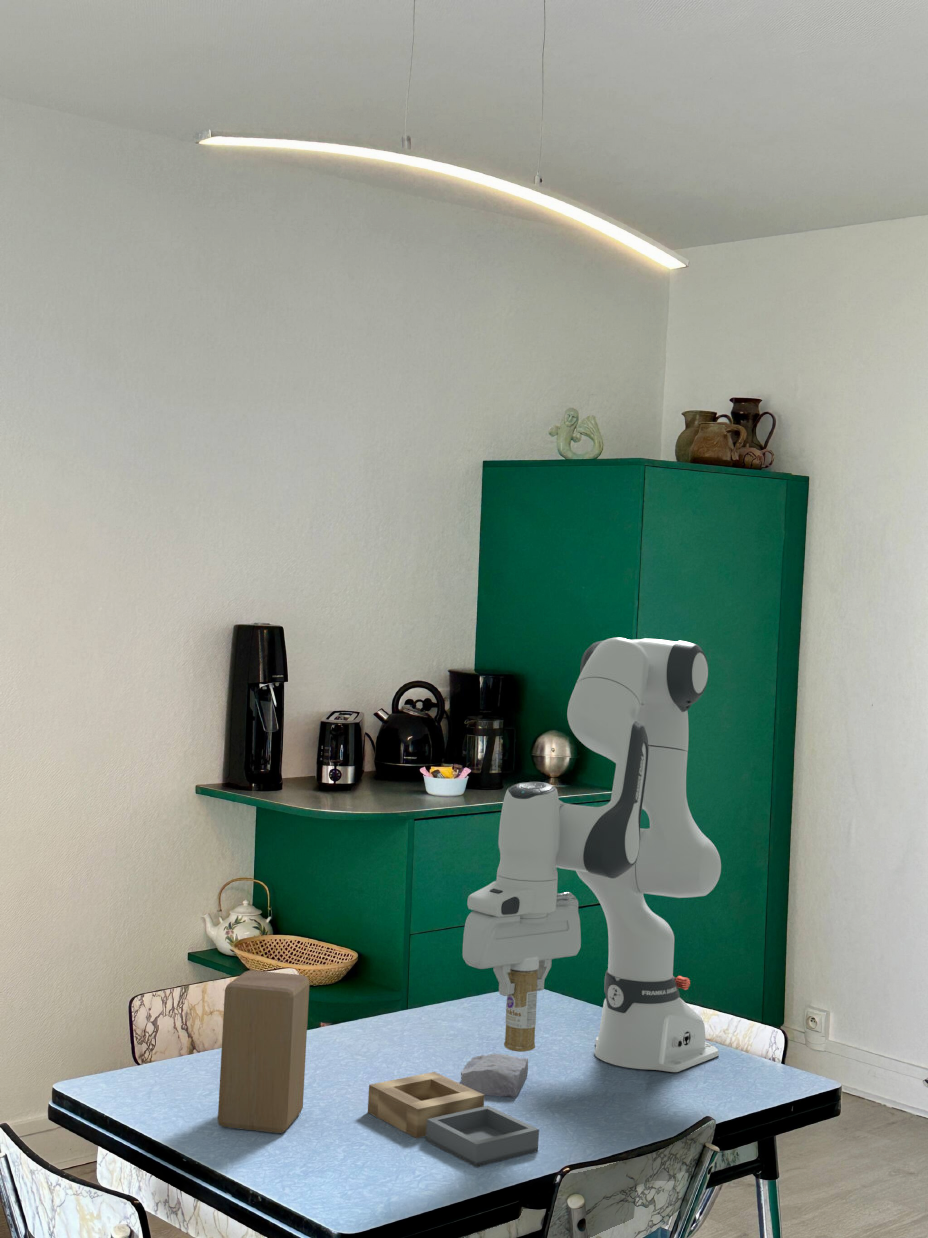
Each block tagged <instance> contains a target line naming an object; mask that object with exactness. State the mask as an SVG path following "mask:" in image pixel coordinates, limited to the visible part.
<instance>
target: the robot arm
mask: <svg viewBox="0 0 928 1238" xmlns="http://www.w3.org/2000/svg"><path fill="white" fill-rule="evenodd" d="M580 660H581V661H580V668H579V669H580V671H579V672H580V673H579V676H578V678H577V680H576V682H575V686H574V687H573V688H574V689H573V690H572V693H571V695H570V698H569V701H568V705H567V713H566V716H567V721H568V725H569V728H570V730H571V732H572V733H573V734H574V736H575V737H576V738H577V740H578V741H579V742H581V744H583V745H584V746H585V747H586V748H588V749H589V750H591V751H592V752H594V753H596V754H599V755H601V756H603V757H605V758H607V759H608V760H610V761H612V762H613V763H615V771H614V776H613V782H612V783H613V784H612V790H611V791H612V792H611V798H610V800H609V802H608V803H607V804H605V805H602V806H587V805H581V804H572V803H567V802H563V801H562V800H560V799H559V794H558V793H559V792H558V788H556V787H555V785H552V784H550V783H547V782H541V781H529V782H519V783H516V784H513V785H512V786H510V787H508V788H507V790H506V792H505V794H504V797H503V798H504V799H503V802H502V807H501V813H500V819H499V827H498V828H499V829H498V849H499V853H500V855H499V858H500V861H499V864H498V867H497V870H496V871H497V872H496V879H495V880H494V881H492V882H491V883H489V884H488V885H486V886H484V887H482V888H480V889H478V890H476V891H474V892H472V893H471V894H469V895H468V897H467V902H466V903H467V908H468V910H471V912H470V913H469V914H468V915H467V917H466V920H465V924H464V928H463V929H464V930H463V937H462V938H463V939H462V958H463V961H465V964H466V965H467V966H469V967H472V968H475V969H479V970H484V969H490V968H493V970H492V971H493V972H494V975H495V977H496V980H497V981H498V993H499V995H500V996H503V997H507V996H510V995H514V992H515V991H514V988H515V983H513V982H510V980H509V977H508V972H510V967H511V965H513V964H520V963H523V961H524V959H526V958H530V957H539V968H538V969H537V970H538V972H537V992H541V991H543V990H544V989H545V979H546V978H547V976H548V973H549V971H550V969H551V968H552V960H554V959H561V958H568V957H574V956H577V955H578V953H579V952H580V949H581V947H582V946H581V945H582V937H581V932H582V931H581V919H580V914H579V913H580V912H579V900H578V899H577V897H576V896H575V895H574V894H573V893H571V892H569V891H566V892H564V891H563V892H562V893H559V892H558V880H559V878H558V877H559V876H558V873H559V872H558V870H557V869H561V870H570V871H575V872H576V874H577V876H578V877H579V879H580V880H581V881H582V882H583V883H584V884H585V885H586V886H588V888H589V889H590V891H592V893H593V894H594V895H595V897H596V899H597V900H598V902H599V904H600V906H601V908H602V911H603V913H604V917H605V920H606V926H607V934H608V938H607V939H608V962H607V963H608V964H607V967H608V968H607V970H606V971H605V976H604V987H603V988H604V990H603V991H604V993H605V994H604V995H605V998H604V1000H603V1005H602V1011H601V1016H600V1017H601V1018H600V1024H599V1031H598V1036H597V1037H596V1038H595V1043H594V1045H595V1048H594V1051H593V1053H594V1055H595V1057H597V1058H598V1059H600V1060H601V1061H604V1062H605V1063H608V1064H611V1065H613V1066H614V1065H615V1066H619V1067H623V1068H630V1069H638V1070H652V1071H654V1070H655V1071H663V1072H670V1073H678V1072H681V1071H684V1070H686V1069H689V1068H691V1067H693V1066H696V1065H698V1064H701V1063H704V1062H706V1061H709V1060H711V1059H714V1058H716V1057H718V1056H719V1055H720V1053H719V1052H720V1051H719V1049H718V1048H717V1047H716V1046H715V1045H713V1044H711V1043H709V1042H706V1028H705V1022H704V1020H703V1018H702V1017H701V1015H699V1013H697V1012H696V1011H695V1010H694V1009H693V1008H692V1007H690V1006H689V1005H688V1003H686V1002H685V1001H684V1000H683V999H682V998H681V997H680V991H679V989H681V990H685V991H687V990H688V989H689V987H690V986H691V980H690V978H688V977H684V976H682V975H678V976H677V977H675V976H674V975H673V974H674V960H675V959H674V957H675V956H674V955H675V934H674V931H673V930H672V928H671V926H670V924H669V923H668V922H667V921H666V920H665V919H664V918H662V917H661V916H659V915H658V914H656V913H655V912H653V911H652V910H651V908H650V907H649V906H648V904H647V903H646V899H645V897H644V894H646V895H647V894H648V895H654V896H662V897H669V898H675V899H676V898H677V899H682V898H697V897H705V896H707V895H708V894H710V893H711V892H712V891H713V890H714V889H715V887H716V885H717V884H718V882H719V880H720V876H721V872H722V863H721V862H722V860H721V856H720V853H719V851H718V849H717V847H716V846H715V844H714V843H713V842H712V840H710V838H709V837H707V836H706V835H705V834H704V833H703V832H702V831H701V829H700V828H699V826H698V825H697V823H696V822H695V820H694V818H693V816H692V813H691V811H690V807H689V804H688V798H687V769H688V768H687V767H688V752H689V736H690V735H689V734H690V733H689V729H690V728H689V714H688V713H689V712H688V710H689V709H690V708H691V706H692V705H693V704H695V703H696V702H697V701H698V700H699V699H700V698H701V696H702V695H703V694H704V692H705V690H706V687H707V684H708V680H709V679H708V677H709V665H708V664H709V663H708V659H707V656H706V653H705V652H704V651H703V650H702V648H701V647H700V645H698V644H696V643H692V642H689V641H685V640H678V641H674V640H667V639H658V638H647V637H646V638H645V637H644V638H641V639H638V638H636V639H627V638H625V637H612V638H607V639H605V640H600V641H596V642H593V643H592V644H591V645H590V646H589V647H588V648H587V649H586V650H585V651H584V653H583V654H582V657H581V659H580ZM642 811H645V813H646V814H647V817H648V819H649V828H641V820H642V819H641V818H642Z"/></svg>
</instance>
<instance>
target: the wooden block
mask: <svg viewBox="0 0 928 1238" xmlns="http://www.w3.org/2000/svg"><path fill="white" fill-rule="evenodd" d="M224 988H225V989H224V997H223V998H224V1000H223V1018H222V1036H221V1053H220V1055H221V1056H220V1068H219V1069H220V1072H219V1087H218V1088H219V1089H218V1090H219V1092H218V1105H217V1106H218V1109H217V1110H218V1111H217V1122H218V1125H219V1127H220V1126H221V1127H223V1128H228V1127H229V1129H237V1128H238V1129H239V1130H246V1129H247V1131H255V1130H256V1132H264V1131H265V1132H266V1133H276V1134H282V1133H284V1132H286V1130H287V1129H288V1128H289V1127H290V1126H291V1125H292V1123H293V1122H294V1121H295V1120H296V1118H298V1116H299V1115H300V1114H301V1112H302V1111H303V1108H304V1107H303V1106H304V1091H305V1074H306V1073H305V1071H306V1053H307V1038H308V1037H307V1034H308V1018H309V1017H308V1015H309V999H310V997H309V996H310V995H309V994H310V980H309V977H308V976H306V975H304V974H295V973H287V972H286V973H285V972H284V973H283V972H276V971H275V972H273V971H263V970H262V971H261V970H252V969H250V970H247V971H244V972H243V973H242V974H241V975H239V976H237V977H236V978H235V979H233V980H231V982H229V983H227V984H226V986H225V987H224ZM265 1132H264V1133H265Z"/></svg>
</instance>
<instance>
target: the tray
mask: <svg viewBox="0 0 928 1238" xmlns="http://www.w3.org/2000/svg"><path fill="white" fill-rule="evenodd" d="M539 1136H540V1128H538V1127H535V1126H533V1125H530V1124H529V1123H526V1122H525V1121H522V1120H521V1119H518V1118H516V1117H515V1116H511V1115H509V1114H507V1113H505V1112H503V1111H501V1110H499V1109H496V1108H494V1107H493V1106H491V1105H484V1106H483V1107H479V1108H475V1109H470V1110H466V1111H461V1112H457V1113H452V1114H448V1115H443V1116H439V1117H434V1118H430V1119H427V1129H426V1136H425V1141H426V1142H428V1143H429V1144H431V1145H433V1146H434V1147H437V1148H439V1149H441V1150H442V1151H444V1152H446V1153H448V1154H450V1155H452V1156H453V1157H456V1158H458V1159H460V1160H461V1161H462V1162H465V1163H467V1164H468V1165H470V1166H473V1167H475V1168H479V1167H482V1166H486V1165H490V1164H494V1163H498V1162H503V1161H506V1160H511V1159H513V1158H517V1157H521V1156H525V1155H529V1154H532V1153H533V1154H534V1153H536V1152H539V1141H540V1140H539Z"/></svg>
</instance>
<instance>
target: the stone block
mask: <svg viewBox="0 0 928 1238" xmlns="http://www.w3.org/2000/svg"><path fill="white" fill-rule="evenodd" d="M528 1071H529V1059H528V1058H527V1057H524V1058H522V1057H517V1056H514V1055H509V1054H503V1053H494V1052H493V1053H489V1054H486V1055H485V1054H482V1055H477V1056H474V1057H471V1059H470V1060H469V1061H468V1062H467V1063H466V1064H464V1067H463V1068H462V1070H461V1072H460V1084H462V1085H464V1086H466V1087H468V1088H471V1089H473V1090H475V1091H477V1092H479V1093H481V1094H484V1096H497V1097H509V1098H516V1096H517V1097H518V1095H519V1093H520V1091H521V1089H522V1087H523V1085H524V1083H525V1081H526V1079H527V1077H528V1073H529V1072H528Z"/></svg>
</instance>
